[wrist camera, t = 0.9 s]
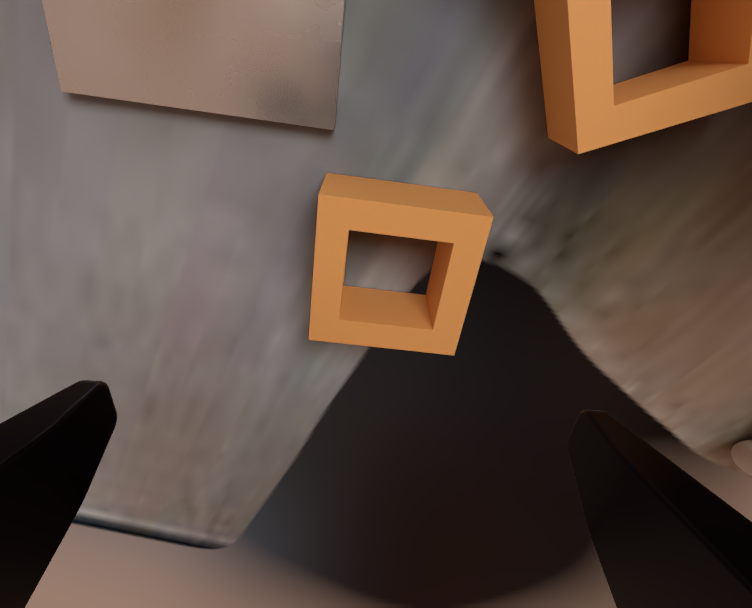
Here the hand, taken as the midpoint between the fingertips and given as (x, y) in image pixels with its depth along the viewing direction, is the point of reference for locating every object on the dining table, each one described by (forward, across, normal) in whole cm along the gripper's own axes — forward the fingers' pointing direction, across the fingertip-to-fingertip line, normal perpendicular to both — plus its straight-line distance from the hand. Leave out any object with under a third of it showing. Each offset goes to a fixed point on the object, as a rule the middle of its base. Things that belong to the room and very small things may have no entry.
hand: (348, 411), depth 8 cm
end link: (+12, -1, +2) cm, 12 cm away
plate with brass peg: (+12, +6, -8) cm, 16 cm away
